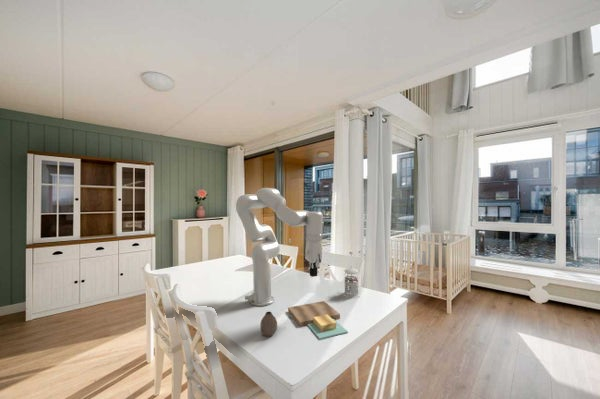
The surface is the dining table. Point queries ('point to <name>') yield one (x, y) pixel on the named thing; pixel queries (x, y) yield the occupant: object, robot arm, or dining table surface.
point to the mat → (329, 333)
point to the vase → (268, 324)
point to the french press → (351, 283)
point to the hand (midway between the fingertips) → (313, 275)
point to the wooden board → (311, 312)
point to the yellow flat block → (324, 323)
